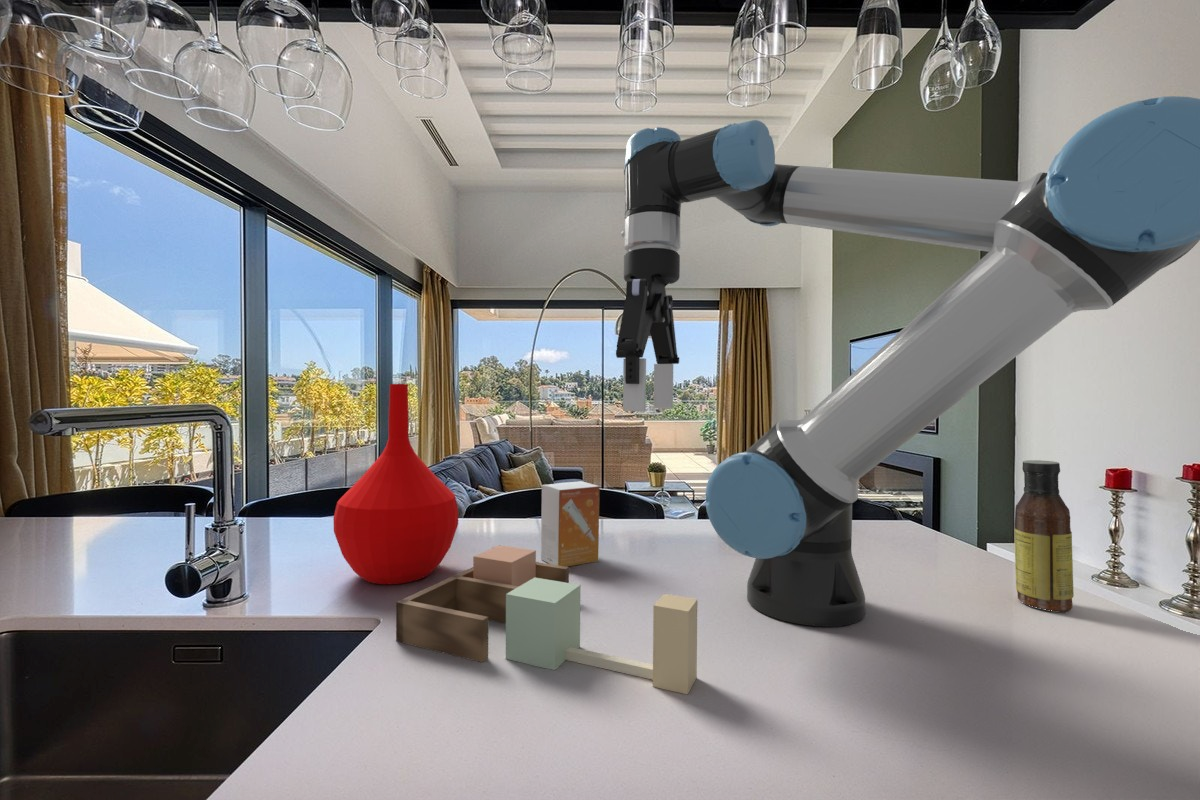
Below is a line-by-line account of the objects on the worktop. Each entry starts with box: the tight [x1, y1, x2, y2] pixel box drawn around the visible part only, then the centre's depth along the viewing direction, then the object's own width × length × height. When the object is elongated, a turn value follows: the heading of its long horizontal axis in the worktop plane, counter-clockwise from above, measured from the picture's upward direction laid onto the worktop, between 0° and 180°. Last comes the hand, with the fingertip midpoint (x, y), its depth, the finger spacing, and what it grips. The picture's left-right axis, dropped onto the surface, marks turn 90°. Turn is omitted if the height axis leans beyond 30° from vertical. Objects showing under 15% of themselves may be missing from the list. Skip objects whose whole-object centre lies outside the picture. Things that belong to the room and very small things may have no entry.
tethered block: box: [505, 577, 698, 696], centre depth 59 cm, size 20×6×8 cm, turn 66°
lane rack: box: [395, 561, 570, 663], centre depth 71 cm, size 12×20×4 cm, turn 156°
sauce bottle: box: [1014, 459, 1075, 613], centre depth 77 cm, size 7×6×20 cm
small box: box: [540, 480, 600, 567], centre depth 95 cm, size 8×6×13 cm
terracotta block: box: [472, 544, 537, 586], centre depth 76 cm, size 6×6×7 cm
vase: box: [332, 383, 459, 585], centre depth 87 cm, size 18×18×30 cm
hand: (649, 410), depth 76 cm, fingers open, 13 cm apart
